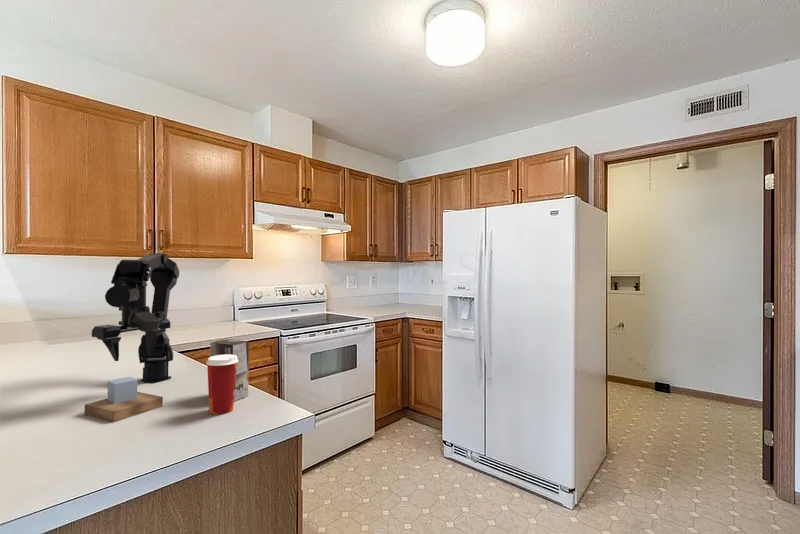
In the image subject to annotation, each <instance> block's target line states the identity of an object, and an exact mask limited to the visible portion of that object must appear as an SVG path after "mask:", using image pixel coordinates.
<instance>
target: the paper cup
mask: <svg viewBox="0 0 800 534" xmlns="http://www.w3.org/2000/svg"><path fill="white" fill-rule="evenodd" d="M237 362H238V359H237V356H236V355H230V354H226V355H216V356H212V357H210V356H209V357H208V358H207V361H206V363H205V364H206V366H207V367H206V368H207V386H208V388H207V389H208V391H207V392H208V403H209V404H208V407H209V413H210V414H211V415H214V414H215V416H218V415H219V414H221V415H226V414H228V413H231V412H233V410H234V404H235V401H234V395H235V382H236V369H237ZM225 413H226V414H225Z"/></svg>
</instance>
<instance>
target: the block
mask: <svg viewBox="0 0 800 534" xmlns="http://www.w3.org/2000/svg"><path fill="white" fill-rule="evenodd" d="M138 381H139V380H138V379H137V378H134V377H133V376H125V377H120V378H115V379H110V380H107V398H108V399H107V398H106V399H107V400H109V401H110V402H112V403H114V404H116V403H120V402H125V401H129V400H134V399H137V392H138Z"/></svg>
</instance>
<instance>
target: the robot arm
mask: <svg viewBox="0 0 800 534" xmlns="http://www.w3.org/2000/svg"><path fill="white" fill-rule="evenodd" d="M179 277H180V269H179V267H178V264H177V262H176V261H174V260H172V259H171V258H169V257H168V255H167V254H166V253H163V252H162V253H161V252H151V253H148V254H147V255H145V256H142V257H140V258H138V259H121V260H120V261H119V262H118V263H117V265H116V267H115V270H114V273H113V276H112V278H111V284H113V286H111V287H109V288H108V289H107V290H106V292H105V295H104V298H105V302H106V303H107V304H108V305H109V306H110V307H113V308H118V311H120V312H121V320H119V321H118V325H117V324H103V325H96V326H94V327H93V328H92V329H91V337H92V338H96V339H97V340H101V341H102V343H103V344H104V345H105V347H106V348H107V350H108V351H109V354H110V355H111V358H112V359H113V360H114V361H115V362H119V361H120V360H119V358H120V342H121V339H122V337H121V336H120V335H121V333H127V332H133V331H141V332H143V333H144V334H143V335H142V336H141V338H140V344H139V346H138V349H137V350H138V351H137V353H138V360H139V363H140V364H144V365H143V367H142V378H140V382H141V381H142V382H147V383H152V384H154V383H157V382H162V381H165V380H166V381H167V380H169V379H172V376H169V362H173V361H174V351H173V348H172V346H171V344H170V338H169V336H168V335H167V333H166V331H167V329H170V328H171V321H170V320H169V318H168V311H169V303H170V295H171V290H172V289H173V288H174V287H175V286H176V285H177V281H178V278H179ZM148 281H150V283H151V284H152V286H153V288H154V289H153V298H152V306H151V308H150V307H149V306H147V287H148V283H147V282H148ZM150 309H151V312H150Z"/></svg>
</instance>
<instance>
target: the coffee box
mask: <svg viewBox="0 0 800 534" xmlns="http://www.w3.org/2000/svg"><path fill="white" fill-rule="evenodd" d="M249 345H250V341H247V340H240V339H239V340H238V339H220V340H216V341H213V342H210V345H209V348H210V349H209V350H210V352H209V354H210V355H209V357H212V356H216V355H226V354H230V355H236V356H237V359H238V362H237V369H236V382H235V395H234V402H236V401H238V400H242V399H244V398H247V397H248V396H249V358H250V357H249V350H250V349H249V347H250V346H249ZM246 396H247V397H246Z"/></svg>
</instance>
